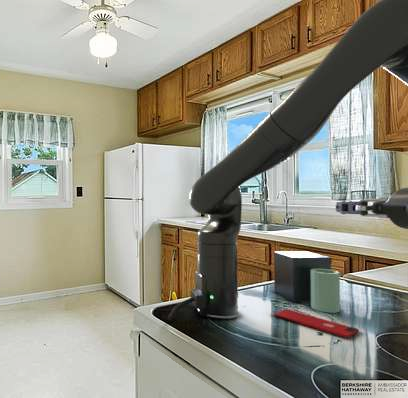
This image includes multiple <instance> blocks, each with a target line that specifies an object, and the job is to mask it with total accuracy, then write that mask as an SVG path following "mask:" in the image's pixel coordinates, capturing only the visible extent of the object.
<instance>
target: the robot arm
mask: <svg viewBox="0 0 408 398" xmlns="http://www.w3.org/2000/svg"><path fill="white" fill-rule="evenodd" d="M379 68H383V69H384V70H386V71H388V73H390V74H392V75H393V76H395V77H396V78H397V79H399V80H400V81H402V83H404V84H405V85H407V86H408V0H378V1H377V2H375V3H374V4H372V5H371V6H370V7H368V8H367V9H366V10H365V11H364V12H363V13H362V14H361V15H360V16H359V17H358V18H357V19H356V20H355V22H354V23H353V24H352V25H351V26H350V27H349V28H348V29H347V31H346V32H345V33H344V34H343V35H342V36H341V38H340V39H339V40H338V41H337V42H336V44H335V45H333V47H332V48H331V50H330V51H329V52H328V53H327V54H326V55H325V56H324V58H323V59H322V60H321V61H320V62H319V64H318V65H317V66H315V68H313V70H311V72H310V73H309V74H307V76H306V77H305V78H303V80H301V81H300V83H298V85H297V86H295V87H294V88H293V90H291V92H289V94H287V96H286V97H285V98H284V99H283V100H282V101H281V102H280V103H279V104H277V105H276V107H274V108H273V109H272V110H271V111H270V112H269V113H268V114H267V115H266V116H265V117H264V118H263V119H261V121H260V122H259V123H258V124H257V125H256V126H255V127H254V128H253V129H252V131H251V132H250V133H249V134H248V135H247V136H245V138H244V139H242V140H241V141H240V142H239V143H238V144H237V145H236V146H235V147H234V148H233V149H232V150H231V151H230V152H229V153H228V154H227V155H226V156H225V157H224V158H223V159H221V160H220V161H219V162H218V163H217V164H216V165H214V166H213V167H211V168H210V169H209V170H208V171H207V172H206V173H204V174H203V175H202V176H201V177H199V178H198V179H197V180H196V181H195V182H194V184H193V185H192V187H191V190H190V192H189V198H188V199H189V204H190V207H191V208H192V209H193V210H194V211H195V212H196V213H198V214H200V215H206V216H208V220H207V222H206V224H205V225H204V226H203V227H201V228H200V229H199V230H198V231H197V236H196V237H197V238H196V239H197V270H196V271H195V273H194V275H195V276H194V277H195V279H194V280H195V281H194V282H195V288H193V289H190V297H189V298H188V299H187V298H186V299H185V300H183V301H181V302H179V303H178V304H176V305H175V306H174V308H173V309H172V310H171V312H170V314H169V315H168V316H167V321H168V322H169V321H172V320H173V319H174V318H175V316H176V314H177V313H178V311H179V310H181V308H183V307H184V306H186V305H188V304H192V305H193V306H194V308H195V310H196V311H197V313H198V314H199V315H200V316H201V317H202V318H210V319H214V320H231V319H235V318H237V317H238V316H239V304H238V303H239V302H238V300H239V292H238V285H239V284H238V237H239V234H240V232H241V227H242V209H243V197H242V196H243V195H242V191H241V186H242V185H243V184H245V183H246V182H247V181H249V180H252V179H254V178H255V177H257V176H259V175H261V174H264V173H265V172H266V173H267V171H269V170H271V169H274V168H275V167H277V166H279V165H281V164H283V163H285V162H286V161H288V160H289V159H291V157H293V156H295V155H296V154H297V153H298V152H299V151H301V150H302V149H303V148H304V147H305V146H306V145H308V144H309V143H310V142H311V141H312V140H314V139H315V138H316V136H318V134H319V133H320V132H321V131H322V129H323V128H324V127H325V125H326V124H327V122H328V121H329V119H330V118H331V116H332V114H333V113H334V112H335V110H336V109H337V107H338V106H339V104H340V103H341V102H342V101H343V99H345V97H346V96H347V95H348V94H349V93H350V92H351V91H352V90H354V89H355V87H357V86H358V85H359V84H360V83H362V82H364V80H365V79H367V78H368V77H369V76H370V75H372V73H374V72H376V70H378V69H379ZM369 202H370V205H369ZM371 202H372V203H371ZM335 211H336V212H337V213H340V214H342V215H359V216H361V217H373V218H374V217H377V218H379V219H389V220H390V221H391V222H392V224H394V225H395V226H396V227H398V228H401V229H404V230H408V187H402V188H399V189H398V190H396V191H394V192H393V193H391V195H390V197H379V198H362V199H360V200H359V201H353V200H348V201H346V200H342V201H337V202H336V203H335ZM369 212H371V213H369Z"/></svg>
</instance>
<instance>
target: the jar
mask: <svg viewBox="0 0 408 398" xmlns="http://www.w3.org/2000/svg"><path fill="white" fill-rule="evenodd" d="M340 276H341V274H340V272H339V271H338V270H335V269H331V270H329V269H311V302H310V307H311V308H312V309H313V310H315V311H318V312H323V313H331V314H335V313H337V314H338V313H339V312H341V310H340V309H341V285H340V284H341V282H340V281H341V279H340Z"/></svg>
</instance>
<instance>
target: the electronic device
mask: <svg viewBox="0 0 408 398" xmlns="http://www.w3.org/2000/svg"><path fill="white" fill-rule="evenodd" d="M273 315H274V317H277V318H280V319H283V320H286V321H290V322H293V323H297V324H299V325H303V326H307V327H309V328H313V329H316V330H319V331H322V332H326V333H329V334H331V335H332V334H333V335H335V336H338V337H342V338H344V339H345V338H346V339H348V338H350V337H352V336H353V335H355V334H358V333H359V332H360V330H359V328H357V327H353V326H349V325H345V324H341V323H338V322H334V321H331V320H328V319H324V318H321V317H317V316H313V315H309V314H306V313H302V312H300V311H299V312H298V311H295V310H292V309H288V308H285V309H283V310H279V311H277V312H274V314H273Z"/></svg>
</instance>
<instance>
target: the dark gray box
mask: <svg viewBox="0 0 408 398" xmlns="http://www.w3.org/2000/svg"><path fill="white" fill-rule="evenodd" d="M332 260H333V259H332V257H330V256H326V255H322V254H318V253H314V252H312V251H274V252H273V265H274V266H273V267H274V268H273V270H274V271H273V275H274V276H273V277H274V278H273V279H274V280H273V281H274V282H273V283H274V284H273V285H274V288H273V289H274V292H275V293H276V294H278V295H279V296H281V297H283V298H285V299H287V300H288V301H290V302H292V303H311V269H329V270H332V263H333V261H332Z"/></svg>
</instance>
